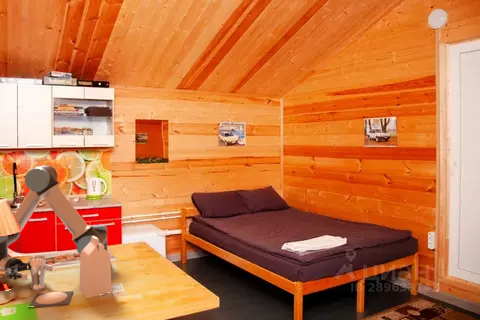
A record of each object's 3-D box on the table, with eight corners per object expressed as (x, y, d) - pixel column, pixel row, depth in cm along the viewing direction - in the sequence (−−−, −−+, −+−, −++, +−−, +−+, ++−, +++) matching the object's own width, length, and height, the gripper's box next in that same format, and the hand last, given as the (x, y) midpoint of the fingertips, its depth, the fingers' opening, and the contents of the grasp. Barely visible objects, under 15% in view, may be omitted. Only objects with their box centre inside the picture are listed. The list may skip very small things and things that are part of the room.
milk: (79, 289, 201) (78, 236, 199) (103, 284, 208) (102, 233, 206) (87, 298, 192) (86, 242, 189) (112, 292, 199) (111, 238, 196)
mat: (73, 292, 197) (73, 290, 197) (68, 305, 184) (68, 302, 184) (36, 295, 194) (36, 292, 194) (28, 308, 180) (28, 305, 180)
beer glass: (33, 285, 205) (33, 255, 204) (48, 285, 206) (47, 255, 205) (27, 291, 198) (27, 260, 197) (43, 290, 199) (42, 259, 198)
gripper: (34, 265, 222) (61, 272, 212) (-14, 280, 200) (15, 289, 190) (33, 251, 221) (61, 258, 211) (-14, 265, 199) (15, 272, 189)
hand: (39, 272), depth 201 cm, fingers open, 13 cm apart
